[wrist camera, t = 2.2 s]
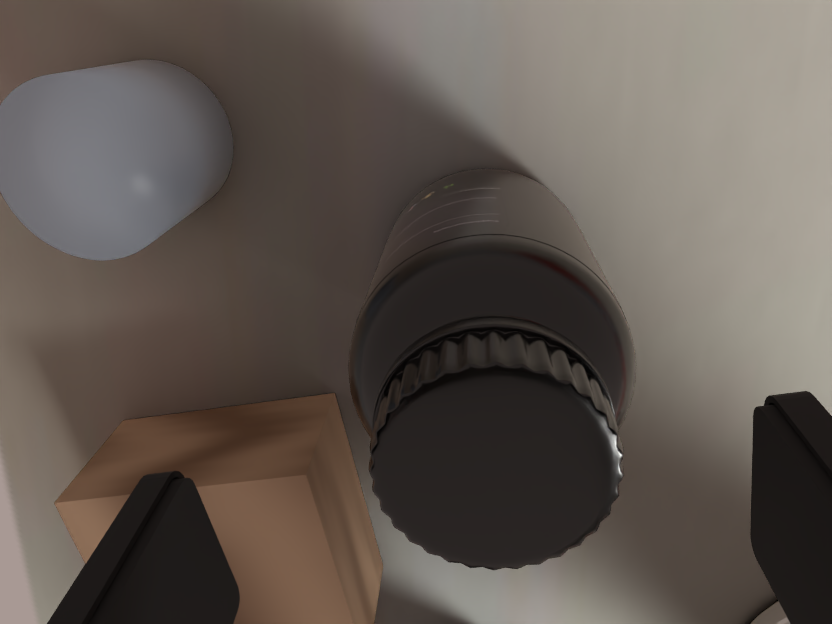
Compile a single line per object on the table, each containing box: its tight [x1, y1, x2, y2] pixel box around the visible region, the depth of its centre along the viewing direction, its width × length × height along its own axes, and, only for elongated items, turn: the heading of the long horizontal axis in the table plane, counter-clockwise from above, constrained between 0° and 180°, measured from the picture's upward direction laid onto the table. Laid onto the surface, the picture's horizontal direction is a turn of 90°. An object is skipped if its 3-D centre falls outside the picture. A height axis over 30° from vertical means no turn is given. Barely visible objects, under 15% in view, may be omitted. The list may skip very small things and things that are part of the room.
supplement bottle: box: [348, 169, 636, 570], centre depth 18 cm, size 7×7×12 cm
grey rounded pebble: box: [0, 60, 233, 260], centre depth 20 cm, size 5×5×5 cm
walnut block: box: [54, 393, 383, 624], centre depth 26 cm, size 9×9×5 cm
